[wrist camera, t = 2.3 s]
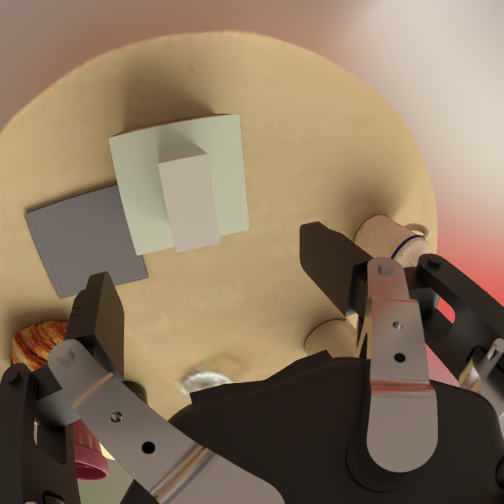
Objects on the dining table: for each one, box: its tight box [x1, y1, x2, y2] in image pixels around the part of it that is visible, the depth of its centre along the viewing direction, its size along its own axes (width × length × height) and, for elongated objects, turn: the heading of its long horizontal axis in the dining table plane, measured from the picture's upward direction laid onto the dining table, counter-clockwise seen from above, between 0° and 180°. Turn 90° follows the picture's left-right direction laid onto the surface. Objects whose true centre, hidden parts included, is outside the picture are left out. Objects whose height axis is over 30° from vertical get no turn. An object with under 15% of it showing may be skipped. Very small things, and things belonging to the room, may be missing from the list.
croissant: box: [11, 320, 68, 371], centre depth 30 cm, size 21×10×8 cm, turn 118°
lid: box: [109, 114, 250, 256], centre depth 20 cm, size 10×10×7 cm
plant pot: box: [73, 419, 109, 481], centre depth 37 cm, size 14×14×13 cm
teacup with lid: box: [354, 215, 429, 268], centre depth 38 cm, size 12×9×12 cm
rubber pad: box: [25, 184, 148, 299], centre depth 29 cm, size 13×12×1 cm
